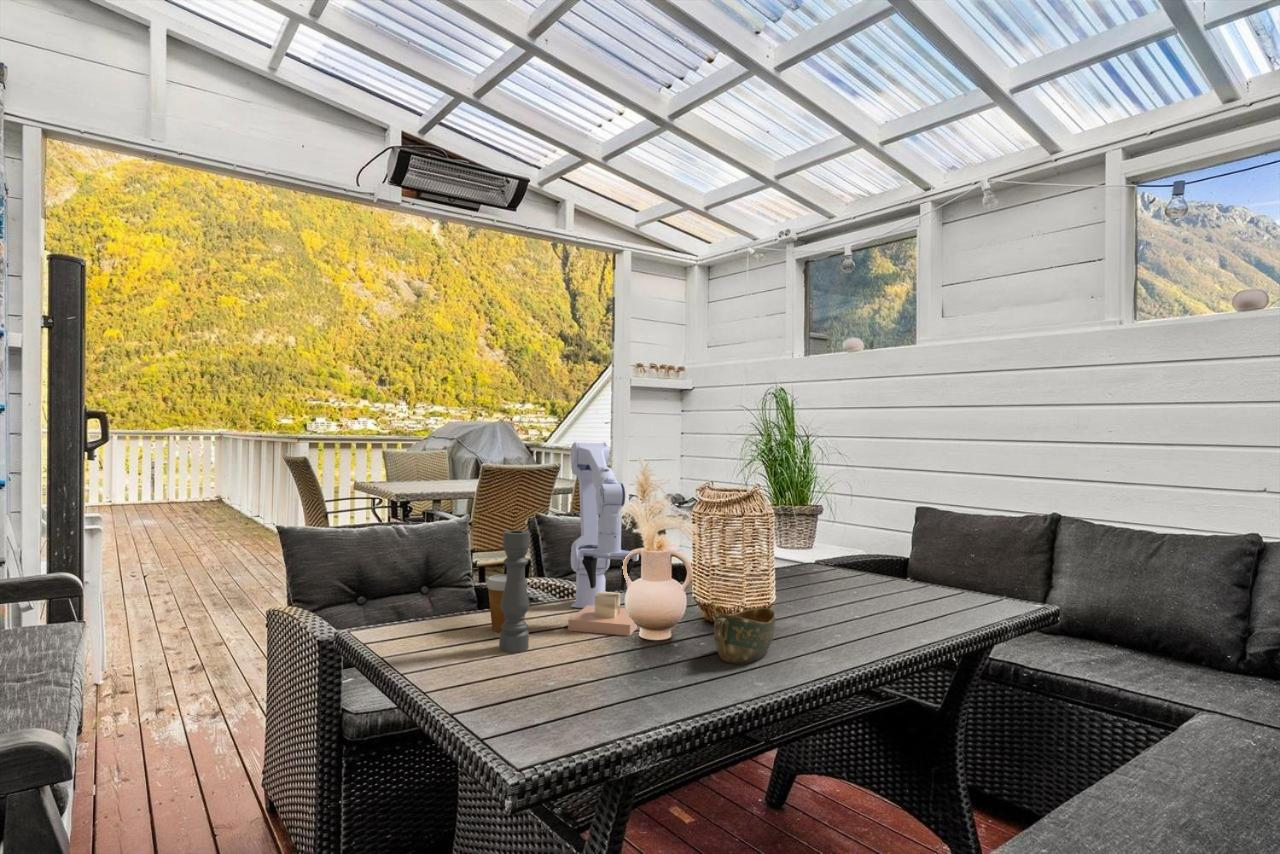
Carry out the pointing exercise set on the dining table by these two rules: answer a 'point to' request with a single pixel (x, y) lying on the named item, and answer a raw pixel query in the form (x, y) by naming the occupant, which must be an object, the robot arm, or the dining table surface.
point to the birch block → (607, 604)
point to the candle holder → (515, 593)
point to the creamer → (744, 635)
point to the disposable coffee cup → (496, 599)
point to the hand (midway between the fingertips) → (608, 588)
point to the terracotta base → (601, 622)
